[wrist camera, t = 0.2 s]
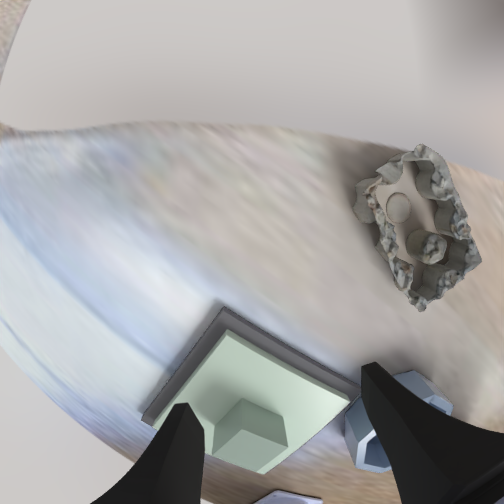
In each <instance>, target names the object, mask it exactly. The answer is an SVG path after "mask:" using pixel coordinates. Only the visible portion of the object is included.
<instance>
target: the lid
mask: <svg viewBox="0 0 504 504" xmlns="http://www.w3.org/2000/svg"><path fill="white" fill-rule="evenodd" d="M186 402H188V403H189V405H190V407H191V408H192V410H193V412H194V413H195V415H196V417H197V418H198V420H199V422H200V423H201V425H202V427H203V428H204V433H205V453H206V454H208V455H211V456H213V457H216V458H218V459H221V460H223V461H226V462H228V463H231V464H234V465H237V466H239V467H242V468H245V469H248V470H251V471H254V472H257V473H260V474H263V475H264V474H265V473H267V472H268V471H269V470H271V469H272V468H273V467H275V466H276V465H278V464H279V463H280V462H282V461H283V460H284V459H286V458H287V457H288V456H289V455H291V454H292V453H293V452H295V451H296V450H297V449H298V448H300V447H301V446H302V445H303V444H304V443H306V442H307V441H308V440H309V439H310V438H312V437H313V436H314V435H315V434H316V433H317V432H319V431H320V430H321V429H322V428H323V427H324V426H325V425H327V424H328V423H329V422H330V421H331V420H332V419H333V418H334V417H335V416H336V415H337V414H339V413H340V412H341V411H342V410H343V409H344V408H345V407H346V406H347V405H348V404H349V403H350V400H349V398H348V396H347V395H346V394H344V393H342V392H340V391H338V390H336V389H334V388H332V387H330V386H328V385H326V384H324V383H322V382H320V381H318V380H316V379H315V378H313V377H311V376H309V375H307V374H305V373H303V372H301V371H300V370H298V369H296V368H294V367H292V366H290V365H289V364H287V363H285V362H283V361H281V360H280V359H278V358H276V357H274V356H273V355H271V354H269V353H267V352H266V351H264V350H262V349H260V348H259V347H257V346H255V345H254V344H252V343H250V342H248V341H247V340H245V339H243V338H242V337H240V336H238V335H237V334H235V333H234V332H232V331H230V330H229V329H227V330H226V331H225V332H224V334H223V335H222V336H221V338H220V339H219V340H218V341H217V343H216V344H215V345H214V347H213V348H212V349H211V350H210V352H209V353H208V354H207V356H206V357H205V358H204V359H203V361H202V362H201V363H200V364H199V366H198V367H197V368H196V370H195V371H194V372H193V373H192V375H191V376H190V377H189V378H188V380H187V381H186V382H185V383H184V385H183V386H182V387H181V388H180V390H179V391H178V392H177V393H176V395H175V396H174V397H173V398H172V400H171V401H170V402H169V403H168V405H167V406H166V407H165V408H164V410H163V411H162V412H161V413H160V414H159V416H158V417H157V418H156V419H155V421H154V424H153V427H152V428H154V429H156V430H159V429H160V427H161V425H162V424H163V422H164V420H165V419H166V417H167V415H168V414H169V412H170V410H171V409H172V407H173V405H174V404H176V403H186Z"/></svg>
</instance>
